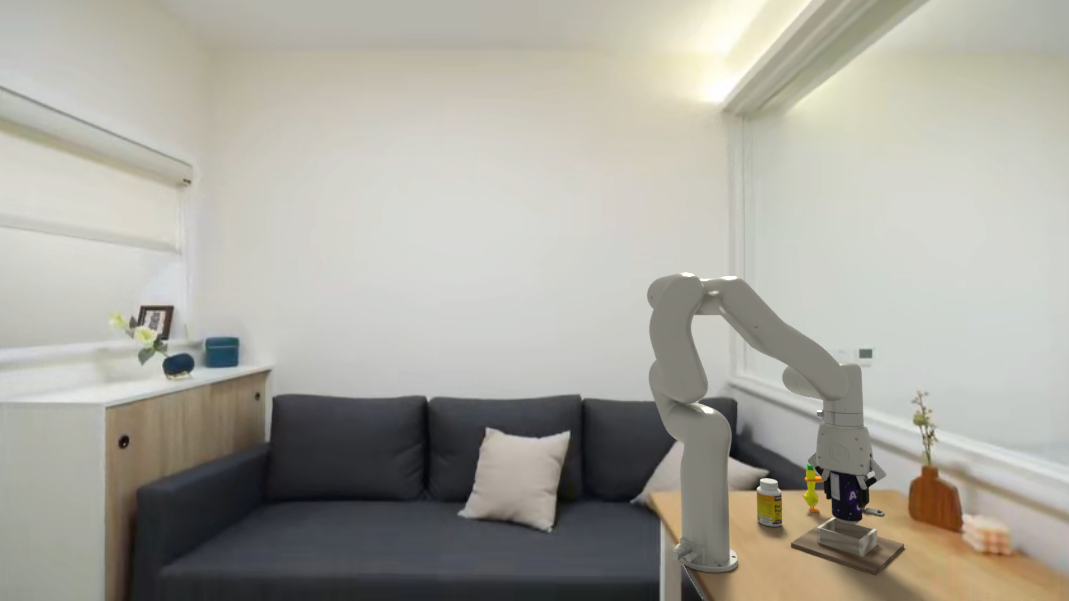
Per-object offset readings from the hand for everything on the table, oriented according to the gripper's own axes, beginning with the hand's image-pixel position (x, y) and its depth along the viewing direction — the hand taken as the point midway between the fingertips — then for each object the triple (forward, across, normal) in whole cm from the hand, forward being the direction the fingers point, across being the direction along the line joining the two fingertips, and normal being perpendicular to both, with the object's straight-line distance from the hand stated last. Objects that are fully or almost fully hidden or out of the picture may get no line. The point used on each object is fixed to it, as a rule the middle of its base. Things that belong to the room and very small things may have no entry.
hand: (846, 501), depth 110 cm
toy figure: (+10, -13, +16) cm, 23 cm away
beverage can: (+4, 0, 0) cm, 4 cm away
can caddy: (+10, 0, 0) cm, 10 cm away
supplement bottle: (+10, -17, 0) cm, 20 cm away
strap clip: (+11, -5, +26) cm, 28 cm away
